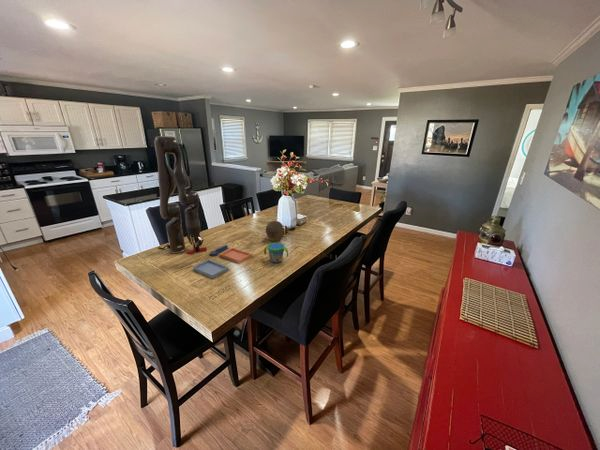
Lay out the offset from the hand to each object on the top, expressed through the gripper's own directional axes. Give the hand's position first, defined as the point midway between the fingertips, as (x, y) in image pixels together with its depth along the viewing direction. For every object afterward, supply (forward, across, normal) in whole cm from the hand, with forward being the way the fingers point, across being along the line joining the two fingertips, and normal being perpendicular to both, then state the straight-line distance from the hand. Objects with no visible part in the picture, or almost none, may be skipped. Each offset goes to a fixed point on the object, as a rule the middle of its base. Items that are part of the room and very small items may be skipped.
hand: (196, 251), depth 147 cm
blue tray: (+7, -15, +3) cm, 17 cm away
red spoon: (0, 0, +1) cm, 1 cm away
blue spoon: (+7, 0, -15) cm, 17 cm away
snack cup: (+7, -40, -27) cm, 49 cm away
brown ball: (+7, -21, -52) cm, 57 cm away
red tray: (+7, -15, -17) cm, 24 cm away
